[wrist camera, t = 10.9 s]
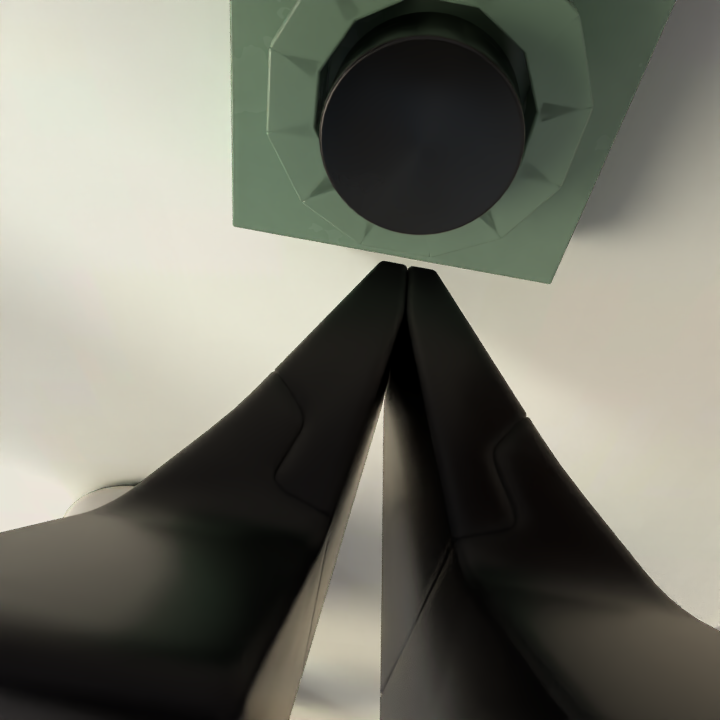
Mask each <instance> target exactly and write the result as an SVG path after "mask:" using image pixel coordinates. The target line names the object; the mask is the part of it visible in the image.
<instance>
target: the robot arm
mask: <svg viewBox="0 0 720 720" xmlns="http://www.w3.org/2000/svg"><path fill="white" fill-rule="evenodd" d="M384 395H385V399H384ZM383 399H384V425H383V511H382V598H381V685H380V692H381V694H382V695H381V697H380V720H720V631H719V630H717V629H715V628H713V627H711V626H709V625H707V624H705V623H704V622H702V621H700V620H698V619H697V618H695V617H694V616H692V615H691V614H689V613H688V612H686V611H685V610H684V609H682V608H681V607H680V606H679V605H677V604H676V603H675V602H674V601H673V600H671V599H670V598H669V597H668V596H667V595H666V594H665V593H664V592H663V591H662V590H661V589H660V588H659V587H658V586H657V585H656V584H655V583H654V582H653V580H652V579H651V578H650V577H649V576H648V575H647V573H646V572H645V571H644V570H643V569H642V567H641V566H640V565H639V564H638V562H637V561H636V560H635V559H634V557H633V556H632V555H631V554H630V552H629V551H628V550H627V549H626V547H625V546H624V545H623V544H622V542H621V541H620V540H619V539H618V537H617V536H616V535H615V534H614V532H613V531H612V530H611V529H610V528H609V526H608V525H607V524H606V523H605V521H604V520H603V519H602V518H601V516H600V515H599V514H598V513H597V511H596V510H595V509H594V508H593V506H592V505H591V504H590V503H589V501H588V500H587V499H586V498H585V496H584V495H583V494H582V492H581V491H580V490H579V489H578V487H577V486H576V485H575V483H574V482H573V481H572V479H571V478H570V477H569V475H568V474H567V473H566V472H565V470H564V469H563V468H562V466H561V465H560V464H559V462H558V461H557V459H556V458H555V456H554V455H553V453H552V452H551V450H550V449H549V447H548V446H547V444H546V443H545V441H544V440H543V439H542V437H541V436H540V434H539V432H538V431H537V429H536V428H535V426H534V425H533V423H532V421H531V420H530V418H528V417H526V412H525V411H524V409H523V408H522V406H521V405H520V403H519V401H518V400H517V398H516V397H515V395H514V394H513V392H512V390H511V389H510V387H509V386H508V384H507V382H506V381H505V379H504V378H503V376H502V375H501V373H500V371H499V370H498V368H497V367H496V365H495V364H494V362H493V360H492V359H491V357H490V356H489V354H488V353H487V351H486V349H485V348H484V346H483V345H482V343H481V342H480V340H479V338H478V337H477V335H476V334H475V332H474V331H473V329H472V327H471V326H470V324H469V323H468V321H467V320H466V318H465V316H464V315H463V313H462V312H461V310H460V309H459V307H458V305H457V304H456V302H455V301H454V299H453V298H452V296H451V294H450V293H449V291H448V290H447V288H446V287H445V285H444V283H443V282H442V280H441V279H440V277H439V276H438V274H437V273H436V272H435V271H434V270H431V269H426V268H420V267H414V266H411V267H409V268H408V270H407V267H406V266H405V265H403V264H398V263H392V262H387V261H382V262H380V263H379V264H378V265H377V266H376V267H375V268H374V269H373V270H372V271H371V272H370V273H369V274H368V275H367V276H366V277H365V278H364V279H363V280H362V281H361V282H360V283H359V284H358V285H357V286H356V287H355V288H354V289H353V290H352V291H351V292H350V293H349V294H348V295H347V296H346V297H345V298H344V299H343V300H342V301H341V302H340V303H339V304H338V305H337V306H336V307H335V309H334V310H333V311H332V312H331V313H330V314H329V315H328V316H327V317H326V318H325V319H324V320H323V321H322V322H321V323H320V324H319V325H318V326H317V327H316V328H315V329H314V330H313V331H312V332H311V333H310V334H309V335H308V336H307V337H306V338H305V339H304V340H303V341H302V342H301V343H300V344H299V345H298V346H297V347H296V348H295V349H294V350H293V351H292V352H291V354H290V355H289V356H288V357H287V358H286V359H285V360H284V361H283V362H282V363H281V364H280V365H279V366H278V367H277V368H276V369H275V372H272V373H271V374H270V375H269V376H268V377H267V378H266V379H265V380H264V381H263V382H262V383H261V384H260V385H259V386H258V387H257V388H256V389H255V390H254V391H253V392H252V393H251V394H250V395H248V396H247V397H246V398H245V399H244V400H243V401H242V402H241V403H240V404H239V405H238V406H237V407H236V408H235V409H233V410H232V411H231V412H230V413H229V414H227V415H226V416H225V417H224V418H222V419H221V420H220V421H219V422H217V423H216V424H215V425H214V426H213V427H211V428H210V429H209V430H208V431H206V432H205V433H204V434H202V435H201V436H200V437H199V438H197V439H196V440H195V441H193V442H192V443H191V444H189V445H188V446H187V447H186V448H184V449H183V450H182V451H180V452H179V453H178V454H176V455H175V456H174V457H173V458H171V459H170V460H169V461H167V462H166V463H165V464H163V465H162V466H161V467H160V468H158V469H157V470H156V471H154V472H153V473H152V474H151V475H149V476H148V477H147V478H145V479H144V480H143V481H141V482H140V483H139V484H137V485H136V486H135V487H133V488H132V489H131V490H129V491H128V492H126V493H125V494H123V495H121V496H120V497H118V498H116V499H115V500H113V501H111V502H109V503H107V504H105V505H103V506H101V507H98V508H96V509H93V510H91V511H88V512H84V513H81V514H77V515H72V516H68V517H64V518H60V519H56V520H51V521H47V522H43V523H39V524H34V525H30V526H26V527H22V528H18V529H13V530H9V531H5V532H1V533H0V720H289V719H290V715H291V712H292V708H293V705H294V702H295V698H296V695H297V692H298V688H299V685H300V680H301V678H302V675H303V671H304V668H305V665H306V661H307V658H308V654H309V651H310V648H311V644H312V641H313V638H314V634H315V631H316V627H317V624H318V621H319V617H320V614H321V611H322V607H323V604H324V600H325V597H326V594H327V590H328V587H329V584H330V580H331V577H332V573H333V570H334V567H335V563H336V560H337V557H338V553H339V550H340V546H341V543H342V540H343V536H344V533H345V530H346V526H347V523H348V519H349V516H350V513H351V509H352V506H353V503H354V499H355V496H356V492H357V489H358V486H359V482H360V479H361V476H362V472H363V469H364V465H365V462H366V459H367V455H368V452H369V449H370V445H371V442H372V439H373V435H374V432H375V428H376V425H377V422H378V418H379V415H380V411H381V407H382V403H383Z"/></svg>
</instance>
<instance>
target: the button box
mask: <svg viewBox="0 0 720 720" xmlns="http://www.w3.org/2000/svg"><path fill="white" fill-rule="evenodd" d="M675 2H676V0H230V43H231V124H232V205H233V226H234V227H240V228H245V229H251V230H256V231H261V232H267V233H272V234H278V235H283V236H289V237H294V238H300V239H305V240H311V241H316V242H322V243H327V244H333V245H338V246H344V247H349V248H355V249H360V250H365V251H371V252H376V253H382V254H387V255H393V256H398V257H404V258H409V259H415V260H420V261H426V262H431V263H437V264H442V265H448V266H453V267H458V268H464V269H469V270H475V271H480V272H486V273H491V274H497V275H502V276H508V277H513V278H519V279H524V280H530V281H535V282H541V283H546V284H550V283H551V282H552V280H553V277H554V275H555V273H556V271H557V268H558V266H559V264H560V262H561V259H562V257H563V255H564V253H565V250H566V248H567V246H568V244H569V241H570V239H571V237H572V235H573V232H574V230H575V228H576V225H577V223H578V221H579V219H580V216H581V214H582V212H583V210H584V207H585V205H586V203H587V201H588V198H589V196H590V194H591V192H592V189H593V187H594V185H595V183H596V180H597V178H598V176H599V173H600V171H601V169H602V167H603V164H604V162H605V160H606V158H607V155H608V153H609V151H610V149H611V146H612V144H613V142H614V140H615V137H616V135H617V133H618V131H619V128H620V126H621V124H622V121H623V119H624V117H625V115H626V112H627V110H628V108H629V106H630V103H631V101H632V99H633V97H634V94H635V92H636V90H637V88H638V85H639V83H640V81H641V79H642V76H643V74H644V72H645V69H646V67H647V65H648V63H649V60H650V58H651V56H652V54H653V51H654V49H655V47H656V45H657V42H658V40H659V38H660V36H661V33H662V31H663V29H664V27H665V24H666V22H667V20H668V17H669V15H670V13H671V11H672V8H673V6H674V4H675ZM415 12H439V13H446V14H450V15H454V16H458V17H460V18H462V19H465V20H467V21H469V22H471V23H473V24H475V25H476V26H478V27H479V28H481V29H483V30H484V31H485V32H486V33H487V34H488V35H490V36H491V37H492V38H493V39H494V40H495V41H496V42H497V44H498V45H499V46H500V47H501V48H502V50H503V51H504V53H505V54H506V56H507V57H508V59H509V61H510V63H511V65H512V67H513V70H514V72H515V76H516V79H517V82H518V87H519V92H520V97H521V102H522V108H523V113H524V120H525V146H524V153H523V156H522V160H521V164H520V166H519V169H518V171H517V174H516V176H515V178H514V180H513V181H512V183H511V185H510V187H509V188H508V190H507V191H506V192H505V194H504V195H503V196H502V197H501V199H500V200H499V201H498V202H497V203H496V204H495V205H494V206H493V207H492V208H491V209H489V210H488V211H487V212H486V213H484V214H483V215H482V216H480V217H479V218H477V219H476V220H474V221H472V222H471V223H469V224H466V225H464V226H462V227H460V228H457V229H454V230H451V231H448V232H444V233H439V234H432V235H409V234H401V233H397V232H393V231H389V230H386V229H384V228H381V227H378V226H376V225H374V224H372V223H370V222H369V221H367V220H365V219H364V218H362V217H361V216H359V215H358V214H357V213H356V212H354V211H353V210H352V209H351V208H350V207H349V206H348V205H347V204H346V203H345V202H344V201H343V200H342V199H341V197H340V196H339V195H338V193H337V192H336V190H335V189H334V188H333V186H332V184H331V182H330V180H329V178H328V176H327V174H326V171H325V169H324V166H323V162H322V158H321V154H320V147H319V125H320V119H321V113H322V110H323V107H324V103H325V100H326V98H327V96H328V93H329V91H330V88H331V86H332V84H333V81H334V79H335V76H336V74H337V72H338V70H339V68H340V65H341V63H342V62H343V60H344V58H345V57H346V55H347V54H348V52H349V51H350V50H351V49H352V47H353V46H354V45H355V44H356V43H357V41H359V40H360V39H361V38H362V37H363V36H364V35H365V34H366V33H367V32H369V31H370V30H372V29H373V28H375V27H376V26H378V25H379V24H381V23H383V22H385V21H387V20H389V19H392V18H395V17H398V16H401V15H404V14H409V13H415Z"/></svg>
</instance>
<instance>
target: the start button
mask: <svg viewBox="0 0 720 720" xmlns="http://www.w3.org/2000/svg"><path fill="white" fill-rule="evenodd" d="M524 146H525V120H524V113H523V108H522V102H521V97H520V92H519V87H518V82H517V79H516V76H515V72H514V70H513V67H512V65H511V63H510V61H509V59H508V57H507V56H506V54H505V53H504V51H503V50H502V48H501V47H500V46H499V45H498V44H497V42H496V41H495V40H494V39H493V38H492V37H491V36H490V35H488V34H487V33H486V32H485V31H484V30H483V29H481V28H479V27H478V26H476V25H475V24H473V23H471V22H469V21H467V20H465V19H462V18H460V17H458V16H454V15H450V14H446V13H439V12H415V13H409V14H404V15H401V16H398V17H395V18H392V19H389V20H387V21H385V22H383V23H381V24H379V25H378V26H376V27H375V28H373V29H372V30H370V31H369V32H367V33H366V34H365V35H364V36H363V37H362V38H361V39H360V40H359V41H357V43H356V44H355V45H354V46H353V47H352V49H351V50H350V51H349V52H348V54H347V55H346V57H345V58H344V60H343V62H342V63H341V65H340V68H339V70H338V72H337V74H336V76H335V79H334V81H333V84H332V86H331V88H330V91H329V93H328V96H327V98H326V100H325V103H324V107H323V110H322V113H321V119H320V125H319V147H320V154H321V158H322V162H323V166H324V169H325V171H326V174H327V176H328V178H329V180H330V182H331V184H332V186H333V188H334V189H335V190H336V192H337V193H338V195H339V196H340V197H341V199H342V200H343V201H344V202H345V203H346V204H347V205H348V206H349V207H350V208H351V209H352V210H353V211H354V212H356V213H357V214H358V215H359V216H361V217H362V218H364V219H365V220H367V221H369V222H370V223H372V224H374V225H376V226H378V227H381V228H384V229H386V230H389V231H393V232H397V233H401V234H409V235H432V234H439V233H444V232H448V231H451V230H454V229H457V228H460V227H462V226H464V225H466V224H469V223H471V222H472V221H474V220H476V219H477V218H479V217H480V216H482V215H483V214H484V213H486V212H487V211H488V210H489V209H491V208H492V207H493V206H494V205H495V204H496V203H497V202H498V201H499V200H500V199H501V197H502V196H503V195H504V194H505V192H506V191H507V190H508V188H509V187H510V185H511V183H512V181H513V180H514V178H515V176H516V174H517V171H518V169H519V166H520V164H521V160H522V156H523V153H524Z"/></svg>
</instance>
